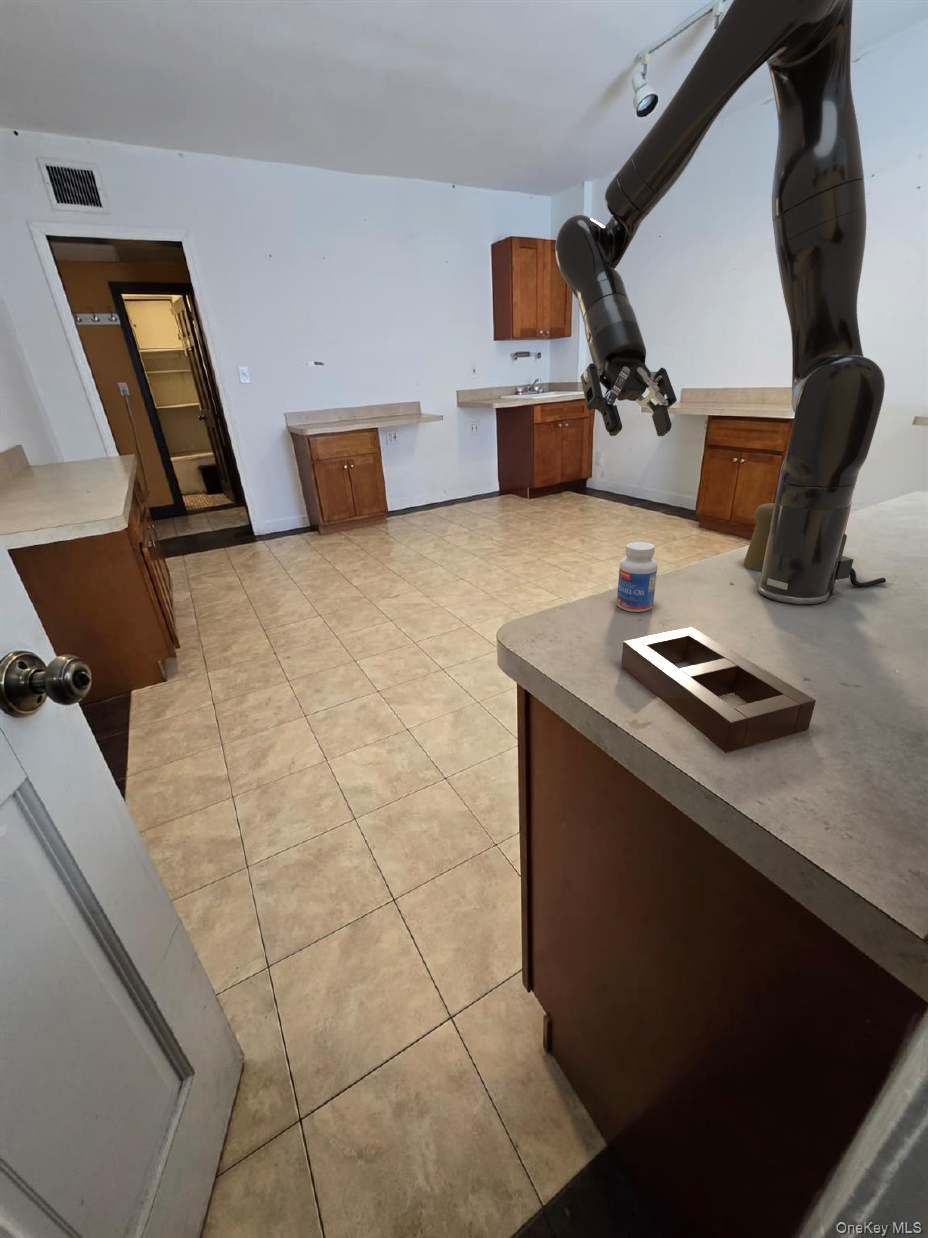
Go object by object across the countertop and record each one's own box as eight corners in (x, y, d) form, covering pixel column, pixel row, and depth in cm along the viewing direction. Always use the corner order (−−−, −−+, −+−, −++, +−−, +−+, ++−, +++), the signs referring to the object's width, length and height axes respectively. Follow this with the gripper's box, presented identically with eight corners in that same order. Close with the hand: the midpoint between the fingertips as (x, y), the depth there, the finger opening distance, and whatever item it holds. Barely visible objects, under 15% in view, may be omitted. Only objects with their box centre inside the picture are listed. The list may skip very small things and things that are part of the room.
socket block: (688, 651, 66) (691, 626, 64) (808, 730, 50) (816, 700, 49) (621, 666, 64) (622, 641, 62) (725, 753, 48) (731, 722, 47)
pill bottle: (611, 608, 79) (614, 547, 75) (624, 596, 83) (628, 538, 79) (646, 615, 76) (651, 552, 72) (658, 603, 80) (664, 542, 76)
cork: (786, 571, 89) (800, 508, 84) (748, 571, 90) (759, 508, 85) (775, 560, 94) (786, 500, 89) (739, 560, 95) (749, 500, 91)
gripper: (586, 314, 72) (614, 416, 68) (667, 322, 76) (698, 418, 73) (560, 353, 79) (585, 447, 75) (637, 358, 83) (663, 447, 80)
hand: (641, 433), depth 74 cm, fingers open, 8 cm apart
